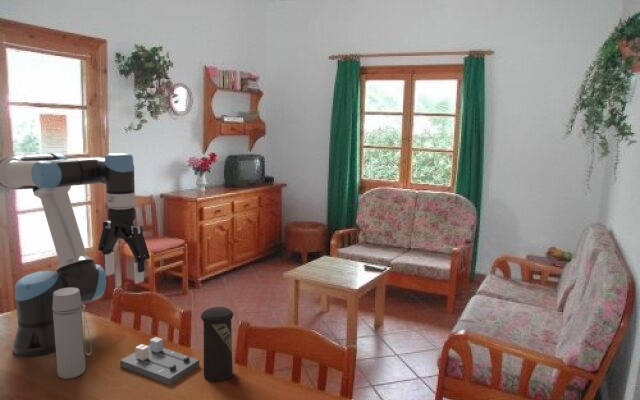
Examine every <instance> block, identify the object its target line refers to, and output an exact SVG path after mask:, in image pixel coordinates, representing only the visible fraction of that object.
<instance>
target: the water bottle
mask: <svg viewBox="0 0 640 400" xmlns="http://www.w3.org/2000/svg"><path fill="white" fill-rule="evenodd" d="M52 310H53V311H54V312H53V319H54V332H55V346H56V351H55V356H56V368H57V369H56V371H57V375H58V377H60V379H64V380H65V379H67V380H68V379H69V380H70V379H75V378H77V377H79V376H81V375H83V374H84V372H85V370H86V356H85V354H86V355H87V356H91V355H92V350H93V349H92V340H91V337H90V330H89V327H88V321H87V317H86V315H84V319H85V320H83V314H86V312H85V311H86V304H84V303H82V301H81V296H80V290H79V289H78V288H73V287H72V288H63V289H59V290H57V291H55V292H54V293H53V308H52ZM85 322H86V325H85ZM85 326H86V327H87V332H88V337H89V343H90V353H88V352H87V350H86V349H87V348H86V347H85V345H86V327H85Z"/></svg>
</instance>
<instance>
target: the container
mask: <svg viewBox="0 0 640 400" xmlns="http://www.w3.org/2000/svg"><path fill="white" fill-rule="evenodd" d="M233 317H234V312H233V311H232V310H231V309H230V308H229V307H225V306H214V307H213V306H212V307H209V308H207V309H205V310H204V311H202V312H201V315H200V318H201V320H202V321H203V323H202V324H203V325H202V326H203V377H204V379H206V380H207V381H209V382H214V383H219V382H225V381H227V380H229V379H231V378H232V377H233V374H234V370H233V368H234V367H233V364H234V363H233V339H232V338H233V337H232V336H233V335H232V332H233V331H232V320H233Z"/></svg>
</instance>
